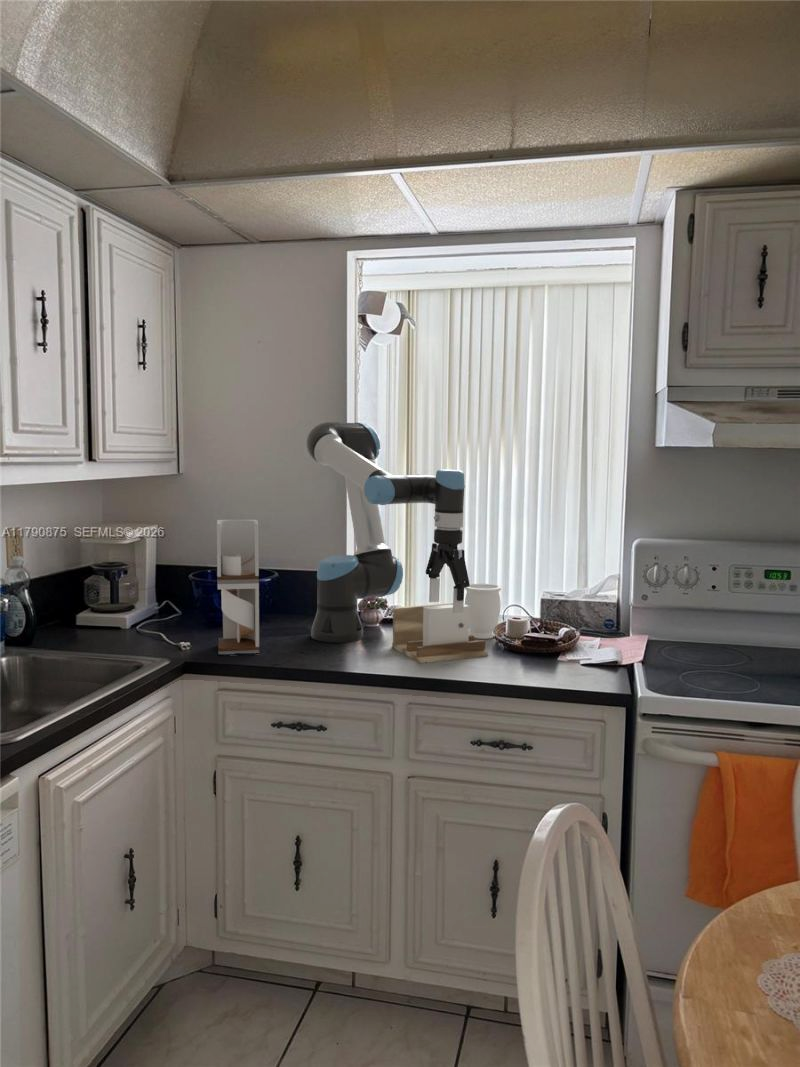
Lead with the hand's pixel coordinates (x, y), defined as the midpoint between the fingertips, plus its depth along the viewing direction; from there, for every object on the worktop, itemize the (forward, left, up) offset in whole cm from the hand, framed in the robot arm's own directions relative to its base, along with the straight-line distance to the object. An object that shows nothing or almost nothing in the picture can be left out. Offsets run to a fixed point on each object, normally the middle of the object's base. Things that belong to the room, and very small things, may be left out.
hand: (445, 607), depth 213 cm
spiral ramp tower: (-26, -50, -13) cm, 58 cm away
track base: (-4, 0, -13) cm, 13 cm away
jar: (-15, +20, -13) cm, 28 cm away
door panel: (0, 0, -12) cm, 12 cm away
